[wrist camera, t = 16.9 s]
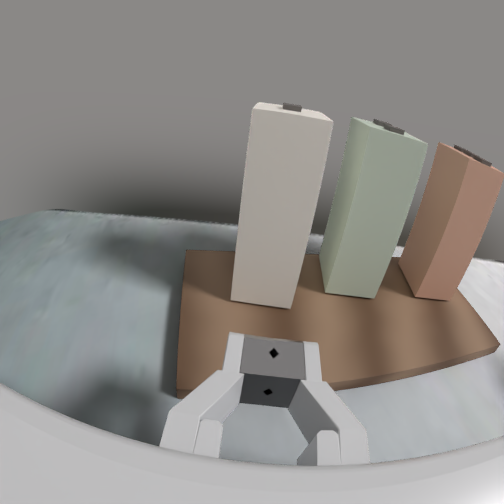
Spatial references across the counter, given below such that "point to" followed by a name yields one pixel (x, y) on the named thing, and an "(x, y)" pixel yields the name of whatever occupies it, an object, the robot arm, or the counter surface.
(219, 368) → the board
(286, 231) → the tile one
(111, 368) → the counter surface
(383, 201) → the tile two
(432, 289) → the tile three
